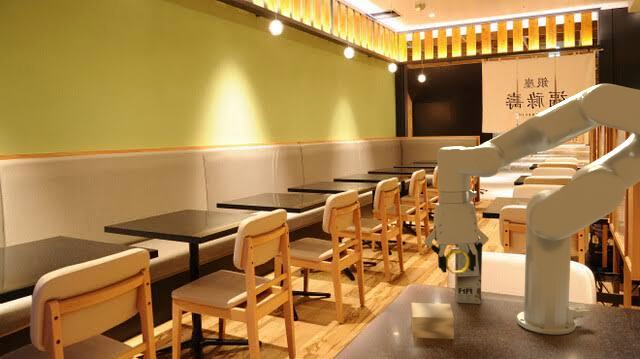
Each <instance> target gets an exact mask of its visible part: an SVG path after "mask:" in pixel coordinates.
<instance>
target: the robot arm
mask: <svg viewBox="0 0 640 359" xmlns="http://www.w3.org/2000/svg"><path fill="white" fill-rule="evenodd" d="M601 126H603V127H607V128H610V129H615V130H619V131H623V132H628V133H630V134H629V136H628V137H627V139H626V140H625V141H623V142H622V143H621V144H619V145H618V146H616V147H614V149H612V150H611V151H609V152H608V153H606V154H604V155H602V156H600V157H599V158H597V159H596V160H594V161H593V162H591V163H588V164H587V165H585V166H583V167H581V168H579V169H578V170H577V171H576V172H575V173H574V174H573V175H572V177H571V179H570V181H569V182H568V183H566V184H564V185H563V186H561V187H559V188H558V189H556V190H552V189H543V190H541V191H538V192H536V193H535V194H533V195H532V196H531V197H530V199H529V200H528V202H527V204H526V207H525V258H524V260H525V263H524V265H525V266H524V298H523V301H524V302H523V303H524V306H523V311H522V312H519V313H517V315H516V322H517V324H518V325H520V326H521V327H523V328H524V329H525V330H528V331H531V332H534V333H538V334H542V335H543V334H544V335H560V336H561V335H566V334H570V333H573V332H574V331H575V330H576V322H575V321H576V320H577V319H590V318H591V312H590V310H589V309H580V308H579V306H577V307H576V306H573V307H571V306H569V304H570V280H571V279H570V278H571V256H572V255H571V254H572V235H574V234H576V233H578V232H580V231H581V230H583V229H585V228H587V227H588V226H591V225H592V224H594V223H597V221H599V220H601V219H603V218H604V217H607V215H610V214H611V213H613V212H614V211H615V210H617V209H618V207H620V206H621V204H622V203H623V201H624V200H625V199H626V195H627V194H626V193H627V190H628V189H630V188H631V187H633V186H635V185H636V184H638V183H639V182H640V89H636V88H630V87H626V86H621V85H617V84H613V83H599V84H596V85H593V86H590V87H587V88H586V89H585V90H582V91H581V92H579V93H576V94H574V95H572V96H571V97H569V98H566V99H565V100H562V101H561V102H559V103H557V104H555V105H553V106H551V107H549V108H547V109H545V110H543V111H540V112H538V113H537V114H535V115H533V116H531V117H529V118H528V119H527V120H525V121H523V122H521V124H519V125H517V126H515V127H513V128H511V129H509V130H507V131H505V132H503V133H501V134H499V135H497V136H495V137H493V138H492V139H490V140H487V141H485V142H483V143H481V144H480V145H478V146H474V147H466V146H459V145H457V146H455V145H454V146H445V147H440V148H439V149H438V151H437V153H436V157H437V158H436V159H437V160H436V162H437V182H438V183H437V187H438V202H436V203H435V204H434V211H433V230H432V231H431V232H430V233H429V234H428V235H427V237H426V238H424V240H423V243H424V244H425V245H426V246H427V247H428V248H429V249H431V250H432V251H433V252H434V253H435V254H436V255H437V260H438V264H437V265H438V269H440V270H441V272H442V273H443V274H444V273H445V274H446V273H447V269H446V256H445V252H446V249H447V248H448V246H455V245H461V244H467V246H468V249H469V252H468V253H467V255H468V256H469V267H468V268H469V269H470V270H471V271H474V267H476V254H477V252H478V251H479V250H480V249H481V248H482V249H483V246H484V245H485V244H486V243H487V242H488V241H489V237H488V236H487V235H486V234H485V233H484V232H483V231H481V229H479V227H478V226H479V225H478V218H477V212H476V208H475V203H474V202H473V201H472V200H473V199H474V198H477V196H478V195H477V194H478V193H477V191H472V189H471V177H477V178H491V177H494V176H496V175H497V174H498V173H499V172H500V171H501V170H502V168H504V167H506V166H509V165H511V164H513V163H515V162H517V161H519V160H521V159H523V158H526V157H528V156H530V155H531V156H532V155H534V154H536V153H537V154H538V153H542V152H546V151H550V150H552V149H555V148H557V147H560V146H562V145H564V144H565V143H567V142H569V141H572V140H574V139H576V138H579V137H580V136H582V135H584V134H587V133H590V132H591V131H593V130H595V129H597V128H599V127H601ZM478 237H479V239H480V240H479V241H478ZM433 240H434V241H436V242H437V244H438V245H435V244H434V243H433ZM477 241H478V242H477ZM474 243H475V245H474Z"/></svg>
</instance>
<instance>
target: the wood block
mask: <svg viewBox="0 0 640 359" xmlns="http://www.w3.org/2000/svg"><path fill="white" fill-rule="evenodd" d="M410 304H411V307H410V308H411V309H410V310H411V312H410V314H411V333H412V338H420V339H421V338H422V339H443V340H444V339H445V340H448V339H449V340H455V317H454V314H453V311H452V306H451V304H450V303H434V302H433V303H431V302H426V303H425V302H411V303H410Z"/></svg>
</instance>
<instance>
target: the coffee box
mask: <svg viewBox="0 0 640 359" xmlns="http://www.w3.org/2000/svg"><path fill="white" fill-rule="evenodd" d="M479 240H480V237H479V236H478V241H479ZM478 241H477V242H478ZM474 245H475V243H474ZM454 246H455V247H454V248H461V249H462V251H463V252H465V253H468V252H469V249H468V246H467V244H461V245H454ZM454 257H455V260H454V261H455V262H454V264H455V265H454V266H455V267H454V269H455V270H454V271H458V270H462V269H463V268H464V267H465V264H466V257H465V255H464V254H463V253H462V252H461V253H454ZM482 264H483V247H482V248H481V249H480V250H479V251H478V252H477V254H476V267H474V271H471V270H470V269H469V268H468V269H467V270H466V271H465V272H464V273H455V276H454V279H455V282H454V283H455V284H454V285H455V286H454V294H455V299H456V303H458V304H459V303H460V304H477V305H481V303H482V270H483V268H482V266H483V265H482Z"/></svg>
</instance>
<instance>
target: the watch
mask: <svg viewBox="0 0 640 359" xmlns="http://www.w3.org/2000/svg"><path fill="white" fill-rule="evenodd" d="M461 252H462V253H463V254H464V255H465V257H466V264H465V267H464V268H463V269H462V270H458V271H455V270H451V269H450V267H449V260H450V257H451V256H452V255H453V254H455V253H461ZM445 257H446V271H448V272H449V273H451V274H452V275H454V274H455V273H464V272H465V271H466V270H467V269H468V267H469V256H468V255H467V253H465V252H463V251H462V249H461V248H455V247H452V248H450V251H449V252H447V254H446V256H445Z"/></svg>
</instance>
